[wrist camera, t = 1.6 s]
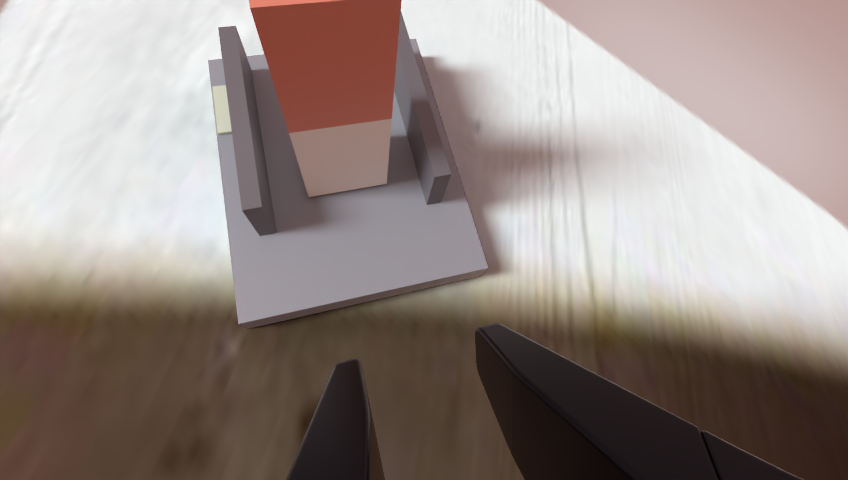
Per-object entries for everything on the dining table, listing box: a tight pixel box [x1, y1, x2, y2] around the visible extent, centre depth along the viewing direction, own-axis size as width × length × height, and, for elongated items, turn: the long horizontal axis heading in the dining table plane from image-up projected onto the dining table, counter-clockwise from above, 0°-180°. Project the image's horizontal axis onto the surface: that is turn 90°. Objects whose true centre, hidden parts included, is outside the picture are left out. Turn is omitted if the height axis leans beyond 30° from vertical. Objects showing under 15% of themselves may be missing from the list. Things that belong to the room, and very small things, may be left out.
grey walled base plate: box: [208, 11, 488, 329], centre depth 21 cm, size 15×12×4 cm
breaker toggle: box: [249, 0, 401, 197], centre depth 17 cm, size 3×4×11 cm
